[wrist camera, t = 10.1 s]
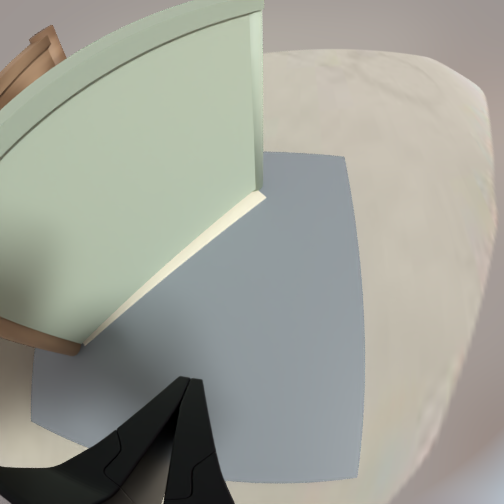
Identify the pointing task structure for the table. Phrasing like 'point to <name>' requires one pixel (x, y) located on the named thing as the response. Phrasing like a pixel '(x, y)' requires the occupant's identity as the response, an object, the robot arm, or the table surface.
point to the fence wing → (125, 164)
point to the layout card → (240, 335)
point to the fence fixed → (30, 64)
